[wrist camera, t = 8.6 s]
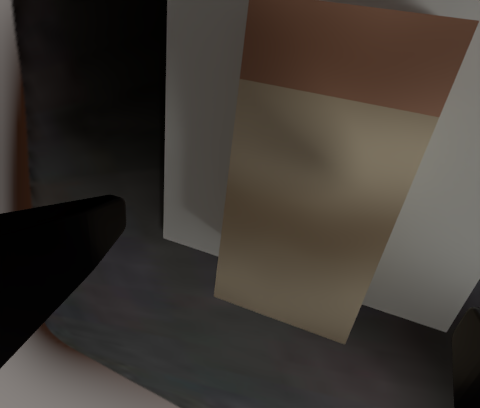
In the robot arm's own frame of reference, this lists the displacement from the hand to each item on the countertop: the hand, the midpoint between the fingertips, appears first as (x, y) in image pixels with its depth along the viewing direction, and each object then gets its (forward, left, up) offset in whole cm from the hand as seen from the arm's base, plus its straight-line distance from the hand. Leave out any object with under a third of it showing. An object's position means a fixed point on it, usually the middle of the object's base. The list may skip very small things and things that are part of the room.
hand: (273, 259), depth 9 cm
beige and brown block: (0, 0, -8) cm, 8 cm away
